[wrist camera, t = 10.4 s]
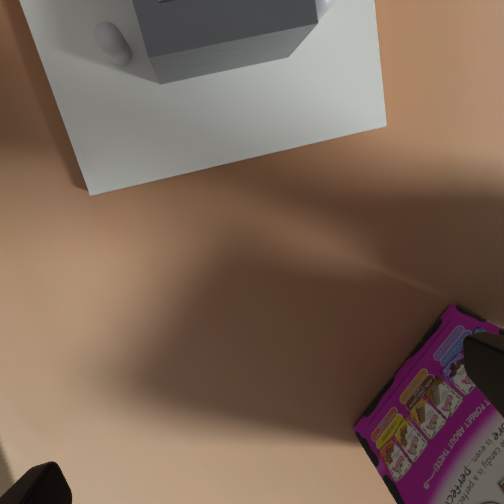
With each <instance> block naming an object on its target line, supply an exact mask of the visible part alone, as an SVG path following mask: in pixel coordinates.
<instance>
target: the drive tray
mask: <svg viewBox="0 0 504 504" xmlns="http://www.w3.org/2000/svg"><path fill="white" fill-rule="evenodd" d="M19 1H20V3H21V6H22V9H23V12H24V14H25V17H26V20H27V23H28V25H29V28H30V31H31V34H32V37H33V39H34V42H35V45H36V48H37V50H38V53H39V56H40V59H41V61H42V64H43V67H44V70H45V72H46V75H47V78H48V81H49V83H50V86H51V89H52V92H53V94H54V97H55V100H56V103H57V105H58V108H59V111H60V114H61V117H62V119H63V122H64V125H65V128H66V130H67V133H68V136H69V139H70V141H71V144H72V147H73V150H74V152H75V155H76V158H77V161H78V163H79V166H80V169H81V172H82V174H83V177H84V180H85V183H86V185H87V188H88V191H89V194H90V196H92V195H96V194H101V193H105V192H109V191H113V190H118V189H122V188H126V187H130V186H135V185H139V184H143V183H147V182H152V181H156V180H160V179H164V178H168V177H173V176H177V175H181V174H185V173H190V172H194V171H198V170H202V169H207V168H211V167H215V166H219V165H224V164H228V163H232V162H236V161H241V160H245V159H249V158H253V157H258V156H262V155H266V154H270V153H274V152H279V151H283V150H287V149H291V148H296V147H300V146H304V145H308V144H313V143H317V142H321V141H325V140H330V139H334V138H338V137H342V136H347V135H351V134H355V133H359V132H364V131H368V130H372V129H376V128H381V127H385V126H387V124H386V114H385V104H384V94H383V84H382V74H381V64H380V54H379V44H378V34H377V24H376V14H375V4H374V0H315V3H316V10H317V17H318V24H317V25H316V27H315V28H314V29H313V30H312V31H311V32H310V33H309V35H308V36H307V37H306V38H305V39H304V40H303V41H302V43H301V44H300V45H299V46H298V47H297V48H296V50H295V51H294V52H293V53H292V54H291V55H290V56H289V57H288V58H283V59H279V60H274V61H269V62H265V63H260V64H255V65H250V66H246V67H241V68H236V69H232V70H227V71H222V72H217V73H213V74H208V75H203V76H199V77H194V78H189V79H184V80H180V81H175V82H170V83H166V84H160V82H159V79H158V77H157V75H156V73H155V71H154V69H153V67H152V64H151V62H150V60H149V58H148V55H147V51H146V47H145V44H144V40H143V37H142V33H141V30H140V26H139V22H138V19H137V15H136V12H135V8H134V5H133V1H132V0H19Z"/></svg>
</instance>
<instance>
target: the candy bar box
mask: <svg viewBox="0 0 504 504" xmlns="http://www.w3.org/2000/svg"><path fill="white" fill-rule="evenodd" d="M481 331H484V332H489V333H494V334H498V335H503V336H504V329H503V328H501V327H499V326H497V325H495V324H493V323H492V322H490V321H488V320H486V319H485V318H483V317H481V316H479V315H478V314H476V313H474V312H472V311H470V310H468V309H466V308H464V307H462V306H460V305H458V304H455V303H452V304H451V305H450V306H448V308H447V309H446V310H445V311H444V313H443V314H442V315H441V317H440V318H439V319H438V320H437V322H436V323H435V324H434V325H433V327H432V328H431V329H430V330H429V332H428V333H427V334H426V336H425V337H424V338H423V340H422V341H421V342H420V344H419V345H418V346H417V347H416V348H415V350H414V351H413V352H412V354H411V355H410V356H409V358H408V359H407V360H406V361H405V363H404V364H403V365H402V367H401V368H400V369H399V371H398V372H397V373H396V374H395V376H394V377H393V378H392V379H391V381H390V382H389V383H388V385H387V386H386V387H385V389H384V390H383V391H382V393H381V394H380V395H379V397H378V398H377V399H376V400H375V402H374V403H373V404H372V405H371V407H370V408H369V409H368V411H367V412H366V413H365V414H364V416H363V417H362V418H361V419H360V421H359V422H358V423H357V425H356V426H355V427H354V428H353V431H354V433H355V435H356V436H357V438H358V439H359V441H360V443H361V445H362V446H363V448H364V450H365V451H366V453H367V455H368V456H369V458H370V460H371V461H372V463H373V464H374V466H375V467H376V469H377V471H378V473H379V475H380V476H381V478H382V479H383V481H384V483H385V484H386V486H387V487H388V489H389V491H390V493H391V494H392V496H393V498H394V499H395V501H396V503H397V504H504V418H503V417H502V416H501V415H500V413H499V412H498V411H497V410H496V409H495V408H494V406H493V405H492V404H491V403H490V402H489V401H488V399H487V398H486V397H485V396H484V395H483V394H482V392H481V391H480V390H479V389H478V388H477V387H476V385H475V384H474V383H473V382H472V381H471V380H470V378H469V377H468V375H467V374H466V372H465V368H464V356H463V340H464V338H465V337H466V336H467V335H470V334H473V333H477V332H481Z"/></svg>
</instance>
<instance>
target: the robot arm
mask: <svg viewBox="0 0 504 504" xmlns="http://www.w3.org/2000/svg"><path fill="white" fill-rule="evenodd" d="M463 356H464V368H465V372H466V374H467V375H468V377H469V378H470V380H471V381H472V382H473V383H474V384H475V385H476V387H477V388H478V389H479V390H480V391H481V392H482V394H483V395H484V396H485V397H486V398H487V399H488V401H489V402H490V403H491V404H492V405H493V406H494V408H495V409H496V410H497V411H498V412H499V413H500V415H501V416H502V417H503V418H504V336H503V335H498V334H494V333H489V332H484V331H481V332H477V333H473V334H470V335H467V336H466V337H465V338H464V340H463ZM0 504H72V493H71V489H70V487H69V485H68V483H67V481H66V479H65V477H64V475H63V473H62V471H61V469H60V467H59V466H58V464H57V463H56V462H52V461H51V462H47V463H44V464H40V465H37V466H34V467H32V468H31V469H29V470H28V471H27V472H26V473H25V474H24V475H23V476H22V477H21V478H20V479H19V480H18V481H17V482H16V483H15V484H14V485H13V486H12V487H11V488H9V489H8V490H7V491H6V492H5V494H3V495H2V496H1V497H0Z"/></svg>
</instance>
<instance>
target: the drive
mask: <svg viewBox="0 0 504 504" xmlns="http://www.w3.org/2000/svg"><path fill="white" fill-rule="evenodd" d="M132 1H133V5H134V8H135V12H136V15H137V19H138V22H139V26H140V30H141V33H142V37H143V40H144V44H145V47H146V51H147V55H148V58H149V60H150V62H151V64H152V67H153V69H154V71H155V73H156V75H157V77H158V79H159V82H160V84H166V83H170V82H175V81H180V80H184V79H189V78H194V77H199V76H203V75H208V74H213V73H217V72H222V71H227V70H232V69H236V68H241V67H246V66H250V65H255V64H260V63H265V62H269V61H274V60H279V59H283V58H288V57H289V56H290V55H291V54H292V53H293V52H294V51H295V50H296V48H297V47H298V46H299V45H300V44H301V43H302V41H303V40H304V39H305V38H306V37H307V36H308V35H309V33H310V32H311V31H312V30H313V29H314V28H315V27H316V25H317V24H318V17H317V10H316V3H315V0H132Z"/></svg>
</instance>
